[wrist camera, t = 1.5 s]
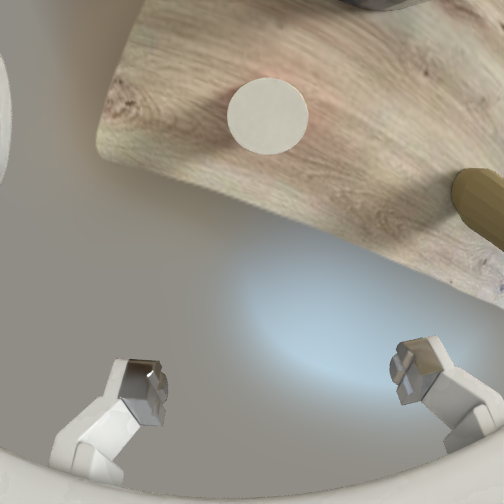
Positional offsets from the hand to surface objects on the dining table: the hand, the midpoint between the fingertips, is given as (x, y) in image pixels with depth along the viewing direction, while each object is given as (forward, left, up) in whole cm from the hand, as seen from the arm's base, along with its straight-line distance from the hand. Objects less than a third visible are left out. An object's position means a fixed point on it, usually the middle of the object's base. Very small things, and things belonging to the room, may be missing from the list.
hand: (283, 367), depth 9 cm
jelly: (+1, +6, -24) cm, 25 cm away
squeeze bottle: (+28, -2, -24) cm, 37 cm away
